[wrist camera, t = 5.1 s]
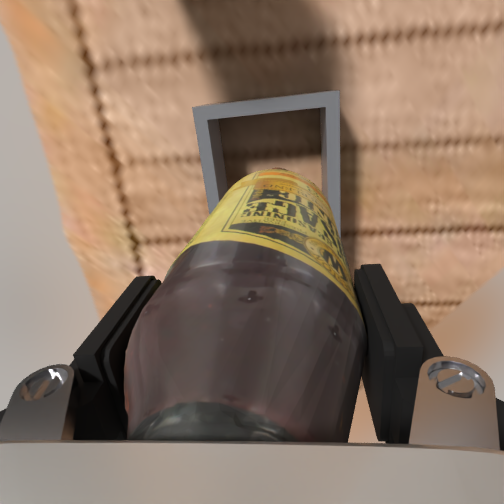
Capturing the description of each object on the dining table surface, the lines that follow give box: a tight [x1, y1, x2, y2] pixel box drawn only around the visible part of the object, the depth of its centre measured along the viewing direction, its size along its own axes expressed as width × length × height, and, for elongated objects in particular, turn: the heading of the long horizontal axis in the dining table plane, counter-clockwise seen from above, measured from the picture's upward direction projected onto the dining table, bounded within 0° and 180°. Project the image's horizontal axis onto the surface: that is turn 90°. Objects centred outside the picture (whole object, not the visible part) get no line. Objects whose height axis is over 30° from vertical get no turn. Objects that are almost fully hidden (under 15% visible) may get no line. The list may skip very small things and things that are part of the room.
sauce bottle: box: [124, 168, 368, 443], centre depth 11 cm, size 7×6×20 cm
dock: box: [192, 90, 341, 239], centre depth 34 cm, size 11×23×5 cm, turn 6°
